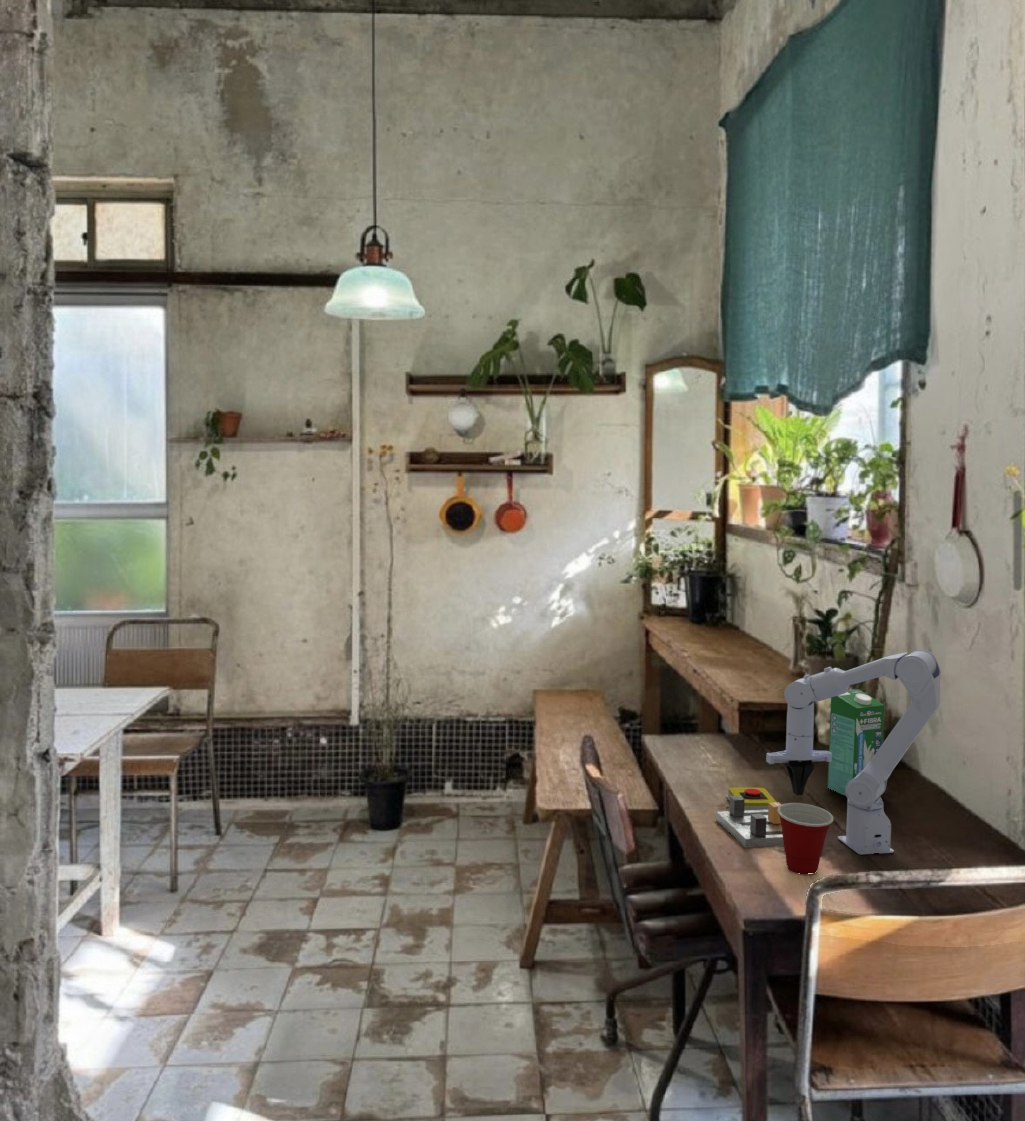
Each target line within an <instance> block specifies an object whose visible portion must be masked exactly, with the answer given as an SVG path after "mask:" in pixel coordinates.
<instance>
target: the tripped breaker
mask: <svg viewBox="0 0 1025 1121" xmlns="http://www.w3.org/2000/svg"><path fill="white" fill-rule="evenodd" d="M780 805H782V804H781V803H780V802H779V801H776V803H768V820H769V821H770V822H772V823H773V824H781V821H780V816H779V814H778V811H777V810H778V807H779V806H780Z"/></svg>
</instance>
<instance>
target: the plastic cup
mask: <svg viewBox="0 0 1025 1121" xmlns="http://www.w3.org/2000/svg"><path fill="white" fill-rule="evenodd" d="M777 811H778V814H779V816H780V821H781V826H782V834H783V842H784V846H783V849H784V850H783V851H784V853H785V860H786V861H785V862H786V866H787V869H788V870H789V871H790V872H791V871H792V873H793V872H794V873H793V874H796V873H800V874H799V875H801V874H808V873H815V872H816V871H818V870H819V866H820V861H821V857H822V853H823V849H824V845H825V840H826V836H827V833H828V831H829V828H830V826H831V825H832V823H833V822H834V815H833V814H831V812H829V811H828V810H826V809H824V808H822V807H820V806H816V805H813V804H808V803H803V802H789V803H788V802H787V803H782V804H781V805H780V806H779V807H778V810H777ZM816 873H817V872H816ZM816 873H815V874H816Z"/></svg>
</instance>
